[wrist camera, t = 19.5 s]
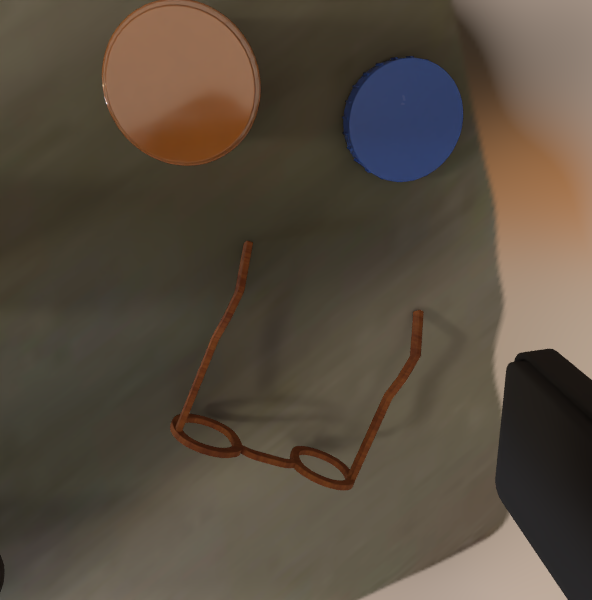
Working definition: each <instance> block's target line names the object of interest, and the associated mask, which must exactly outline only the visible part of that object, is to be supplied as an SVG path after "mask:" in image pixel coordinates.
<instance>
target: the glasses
mask: <svg viewBox="0 0 592 600" xmlns="http://www.w3.org/2000/svg"><path fill="white" fill-rule="evenodd" d="M252 245H253V242H250V241H246V242H245V243H244V245H243V251H242V256H241V261H240V267H239V272H238V277H237V283H236V288H235V292H234V294H233V297H232V299H231V301H230V303H229V305H228V307H227V309H226V311H225V313H224V315H223V317H222V319H221V321H220V323H219V324H218V326H217V328H216V330H215V332H214V333H213V335H212V337H211V340H210V342H209V345H208V347H207V350H206V352H205V355H204V357H203V360H202V362H201V365H200V367H199V370H198V372H197V375H196V377H195V380H194V382H193V385H192V387H191V390H190V392H189V395H188V397H187V400H186V402H185V405H184V407H183V410H182V412H181V414H179V415H176V416H175V417H174V418H173V420H172V422H171V425H170V429H171V432H172V434H173V436H174V437H175V438H176V439H177V440H178V441H179V442H180V443H182V444H183V445H185V446H186V447H188V448H190V449H192V450H194V451H197V452H199V453H202V454H206V455H209V456H213V457H220V458H231V457H237V456H239V455H240V453H241V454H243V455H245V456H247V457H249V458H251V459H254V460H257V461H261V462H264V463H268V464H271V465H275V466H279V467H283V468H294V469H295V470H296V471H297V472H299V473H300V474H301V475H303V476H305V477H306V478H308V479H310V480H311V481H313V482H315V483H317V484H320V485H322V486H325V487H328V488H332V489H336V490H349V489H351V488H352V487H353V485H354V483H355V480H356V477H357V475H358V473H359V471H360V469H361V466H362V464H363V462H364V460H365V458H366V455H367V453H368V451H369V449H370V447H371V444H372V442H373V440H374V438H375V436H376V433H377V431H378V429H379V427H380V424H381V422H382V420H383V418H384V416H385V413H386V411H387V409H388V407H389V405H390V402H391V400H392V398H393V397H394V396H395V395H396V393H397V392H398V391H399V389H400V388H401V387H402V385H403V384H404V383H405V382H406V380H407V379H408V377H409V375H410V373H411V372H412V370H413V368H414V367H415V365H416V363H417V361H418V360H419V358H420V356H421V343H422V327H423V311H421V310H418V311H414V312H413V323H412V337H411V351H410V357H409V359H408V360H407V362H406V363H405V365H404V367H403V368H402V370H401V372H400V373H399V375H398V377H397V378H396V379H395V381H394V382H393V383H392V385H391V386H390V387H389V388H388V390H387V391H386V392H385V394H384V396H383V398H382V400H381V402H380V404H379V407H378V409H377V411H376V413H375V415H374V418H373V420H372V422H371V424H370V427H369V429H368V431H367V433H366V435H365V438H364V440H363V442H362V444H361V447H360V449H359V451H358V453H357V455H356V458H355V460H354V462H353V464H352V466H351V469H349V468H348V467H347V466H346V465H345V464H344V463H343V462H341V461H340V460H338V459H337V458H335V457H333V456H332V455H330V454H328V453H325V452H323V451H320V450H317V449H314V448H310V447H305V446H296V447H294V448H293V449H292V451H291V454H290V459H284V458H280V457H277V456H273V455H270V454H266V453H262V452H259V451H255V450H252V449H250V448H247V447H245V446H243V445H242V443H241V441H240V439H239V437H238V436H237V435H236V433H235V432H234V431H233V430H232V429H230V428H229V427H227V426H226V425H224V424H222V423H220V422H218V421H216V420H213V419H210V418H207V417H204V416H200V415H195V414H189V412H190V410H191V407H192V405H193V403H194V400H195V398H196V395H197V393H198V390H199V388H200V385H201V383H202V380H203V378H204V375H205V373H206V370H207V368H208V365H209V363H210V360H211V358H212V356H213V353H214V351H215V348H216V346H217V343H218V341H219V339H220V337H221V335H222V334H223V332H224V330H225V328H226V327H227V325H228V323H229V321H230V320H231V318H232V316H233V314H234V312H235V309H236V307H237V305H238V303H239V301H240V299H241V297H242V295H243V293H244V289H245V284H246V278H247V273H248V267H249V262H250V256H251V251H252ZM188 422H190V423H198V424H202V425H206V426H209V427H211V428H214V429H216V430H218V431H219V432H221V433H223V434H224V435H225V436H226V437H227V438H228V439H229V441H230V442H231V445H232V447H229V448H218V447H213V446H209V445H206V444H203V443H200V442H198V441H196V440H194V439H192V438H190V437H189V436H188V435H186V434H185V433H184V431H183V427H184V425H185V423H188ZM299 455H310V456H314V457H317V458H320V459H323V460H325V461H327V462H329V463H331V464H332V465H334V466H335V467H336V468H337V469H339V470H340V471H341V473H342V474H343V475H344V477H345V480H343V481H339V480H333V479H329V478H326V477H323V476H321V475H319V474H317V473H315V472H313V471H311V470H310V469H308V468H307V467H306V466H305V465H304V464H303V463H302V462H301V460H300V458H299Z"/></svg>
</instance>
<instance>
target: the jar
mask: <svg viewBox="0 0 592 600" xmlns="http://www.w3.org/2000/svg"><path fill="white" fill-rule="evenodd" d="M102 86H103V92H104V97H105V100H106V104H107V107H108V109H109V112H110V114H111V116H112V118H113V120H114V122H115V123H116V125H117V127H118V128H119V129H120V131H121V132H122V133H123V135H124V136H125V137H126V138H127V139H128V140H129V141H130V142H131V143H132V144H133V145H134V146H136V147H137V148H138V149H139V150H141V151H142V152H144V153H146V154H147V155H149V156H151V157H153V158H155V159H157V160H159V161H163V162H166V163H169V164H174V165H183V166H192V165H200V164H205V163H209V162H212V161H214V160H217V159H219V158H221V157H223V156H225V155H226V154H228V153H229V152H230V151H232V150H233V149H234V148H235V147H236V146H238V145H239V144H240V143H241V141H242V140H243V139H244V138H245V136H246V135H247V134H248V132H249V130H250V129H251V127H252V125H253V123H254V120H255V118H256V115H257V112H258V109H259V103H260V95H261V82H260V74H259V68H258V64H257V61H256V58H255V55H254V53H253V51H252V49H251V46H250V44H249V43H248V41H247V40H246V38H245V36H244V35H243V34H242V32H241V31H240V30H239V29H238V27H237V26H236V25H235V24H234V23H233V22H232V21H231V20H230V19H228V18H227V17H226V16H224V15H223V14H222V13H221V12H219V11H217V10H216V9H214V8H212V7H210V6H208V5H205V4H203V3H200V2H197V1H193V0H157V1H154V2H151V3H148V4H146V5H144V6H142V7H140V8H138V9H136V10H135V11H134V12H132V13H131V14H130V15H128V16H127V17H126V18H125V19H124V20H123V21H122V22H121V23H120V25H119V26H118V27H117V29H116V30H115V31H114V33H113V35H112V37H111V39H110V41H109V43H108V45H107V48H106V51H105V55H104V59H103V65H102Z"/></svg>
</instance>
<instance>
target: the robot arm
mask: <svg viewBox="0 0 592 600" xmlns="http://www.w3.org/2000/svg"><path fill="white" fill-rule="evenodd" d="M495 483H496V489H497V492H498V495H499V497H500V499H501V501H502V503H503V504H504V506H505V507H506V509H507V510H508V512H509V513H510V514H511V516H512V517H513V519H514V520H515V522H516V523H517V525H518V526H519V528H520V529H521V531H522V532H523V534H524V535H525V537H526V538H527V540H528V541H529V543H530V544H531V546H532V547H533V549H534V550H535V552H536V553H537V554H538V556H539V558H540V559H541V561H542V562H543V563H544V565H545V566H546V568H547V569H548V571H549V572H550V574H551V575H552V577H553V578H554V580H555V581H556V583H557V584H558V586H559V587H560V588H561V590H562V592H563V593H564V595H565V596H566V597H567V599H568V600H592V380H591V379H590V378H589V377H587V376H586V375H585V374H584V373H582V372H581V371H580V370H579V369H577V368H576V367H575V366H574V365H573V364H572V363H570V362H569V361H568V360H567V359H565V358H564V357H563V356H562V355H561V354H559V353H558V352H557V351H555V350H553V349H544V350H537V351H530V352H523V353H519V354H518V355H517V356H516V358H515V361H514V362H511V363H509V364H508V366H507V370H506V378H505V388H504V398H503V408H502V418H501V428H500V438H499V448H498V458H497V467H496V477H495ZM3 582H4V564H3V560H2V558H1V555H0V592H1V589H2V586H3Z"/></svg>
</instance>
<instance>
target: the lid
mask: <svg viewBox="0 0 592 600" xmlns="http://www.w3.org/2000/svg"><path fill="white" fill-rule="evenodd" d="M413 57H414V56H406V58H398V57H392V58H391V60H387V61H384V62H382V63H376V66H374V67H373V68H371V69H370V70H369V71H367V72H364V73H363V76H362V77H361V78H360V79H359V80H358V82H357V83H356V84H355V85H353V86H352V87H353V89H352V91H351V93H350V95H349V97H348V100H346V101H345V102H346V106H345V110H344V116H342V118H343V129H344V132H343V135H344V136H345V140H346V143H347V146H348V147H347V149H348V150H350V152H351V154H352V155H353V157H354V158H355V161H356V162H357V163H359V164H360V165H361V166H363V167H364V168H365V170H366V171H367V172H368V173H373V174H374V175H376V176H377V177H379V178H380V179H385V180H389V181H395V182H407V181H413V180H416V179H419V178H422V177H424V176H426V175H428V174H430V173H431V172H433V171H434V170H436V169H437V168H438V167H439V166H440V165H441V164H442V163H443V162H444V161H445V160H446V159H447V158H448V157H449V155H450V154H451V152H452V151H453V149H454V147H455V145H456V143H457V141H458V139H459V136H460V133H461V129H462V123H463V105H462V99H461V96H460V93H459V90H458V88H457V86H456V84H455V82H454V80H453V79H452V78H451V76H450V75H449V74H448V73H447V72H446V71H445V70H444V69H443V68H441V67H440V66H438V65H437V64H435V63H433V62H431V61H428V60H427V59H420V58H413Z"/></svg>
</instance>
